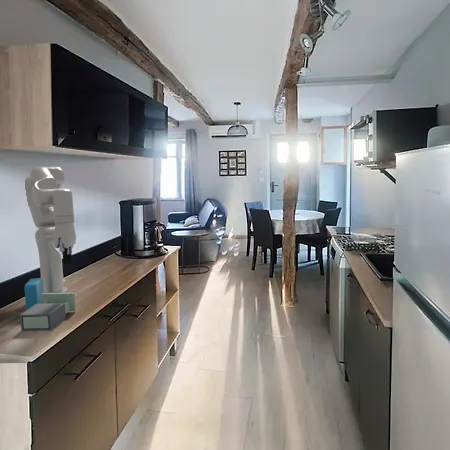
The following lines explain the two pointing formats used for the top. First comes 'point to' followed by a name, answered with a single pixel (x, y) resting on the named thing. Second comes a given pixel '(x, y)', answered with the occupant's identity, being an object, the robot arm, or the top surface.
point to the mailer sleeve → (45, 314)
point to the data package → (33, 292)
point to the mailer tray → (50, 298)
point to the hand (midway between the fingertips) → (67, 263)
